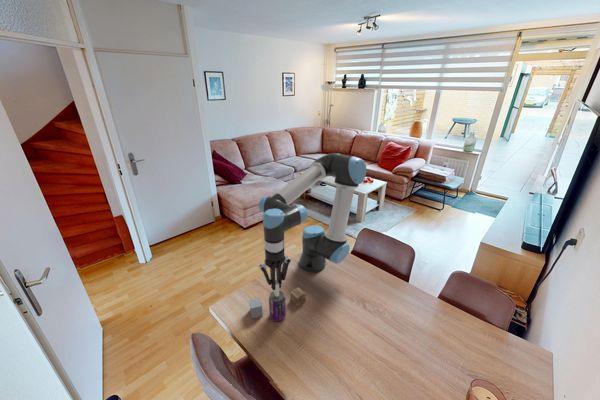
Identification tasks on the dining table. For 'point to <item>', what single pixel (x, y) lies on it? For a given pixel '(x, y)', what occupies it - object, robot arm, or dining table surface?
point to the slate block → (255, 308)
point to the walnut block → (297, 296)
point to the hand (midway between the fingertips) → (276, 294)
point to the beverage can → (277, 306)
